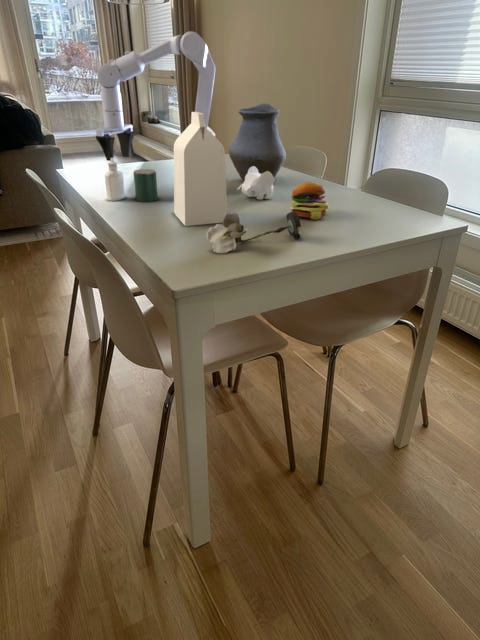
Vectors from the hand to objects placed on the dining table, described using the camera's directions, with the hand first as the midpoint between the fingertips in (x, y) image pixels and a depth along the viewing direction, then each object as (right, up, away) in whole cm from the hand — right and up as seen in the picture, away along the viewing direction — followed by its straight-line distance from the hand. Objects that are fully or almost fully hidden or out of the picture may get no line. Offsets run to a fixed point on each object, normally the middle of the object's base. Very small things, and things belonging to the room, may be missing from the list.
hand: (118, 158), depth 141 cm
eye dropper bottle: (0, -14, -3) cm, 14 cm away
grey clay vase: (+44, 0, +24) cm, 50 cm away
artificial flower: (+42, -33, -36) cm, 64 cm away
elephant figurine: (+43, -12, +2) cm, 45 cm away
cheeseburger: (+57, -21, -14) cm, 62 cm away
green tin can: (+9, -13, -2) cm, 16 cm away
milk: (+27, -23, -18) cm, 40 cm away
